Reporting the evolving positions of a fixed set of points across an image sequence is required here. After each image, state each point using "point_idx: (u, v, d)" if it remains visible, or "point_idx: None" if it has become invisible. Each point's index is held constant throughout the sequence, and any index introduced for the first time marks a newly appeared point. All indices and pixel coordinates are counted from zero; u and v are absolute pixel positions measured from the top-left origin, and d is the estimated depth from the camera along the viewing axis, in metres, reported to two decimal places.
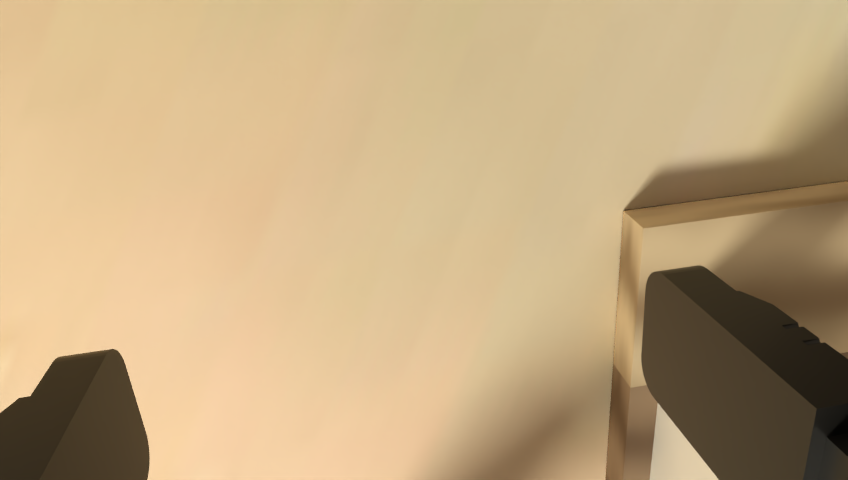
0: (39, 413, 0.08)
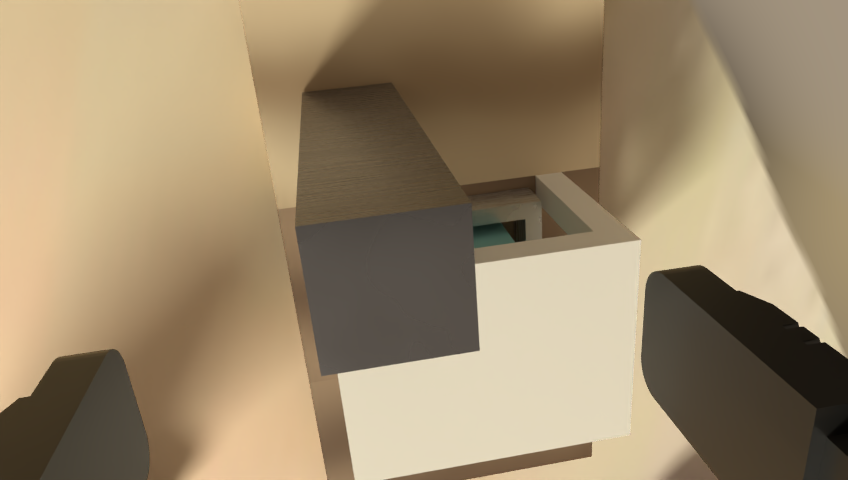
0: (39, 413, 0.08)
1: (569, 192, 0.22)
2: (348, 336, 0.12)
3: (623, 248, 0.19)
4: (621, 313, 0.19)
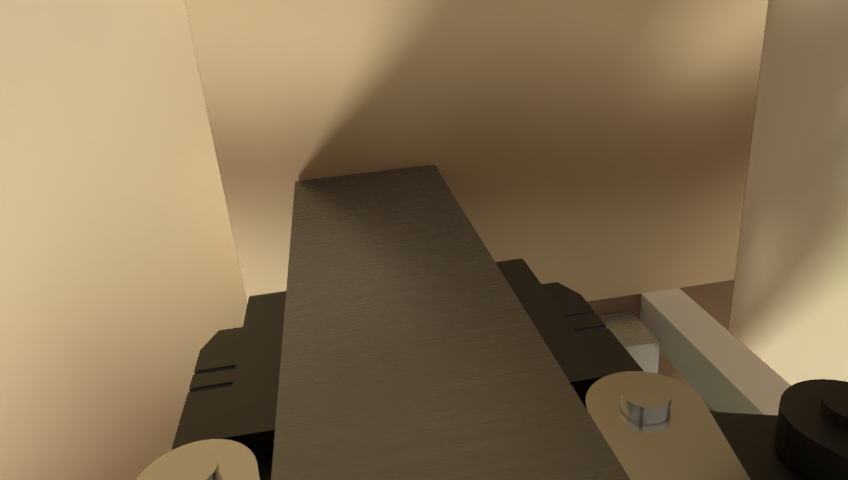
0: (259, 335, 0.09)
1: (708, 335, 0.14)
2: None
3: None
4: None
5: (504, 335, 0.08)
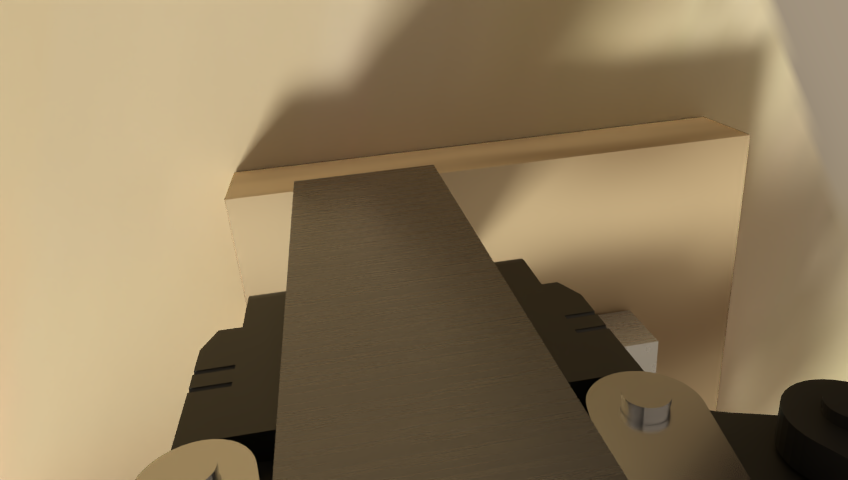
0: (259, 336, 0.09)
1: None
2: None
3: None
4: None
5: (504, 337, 0.08)
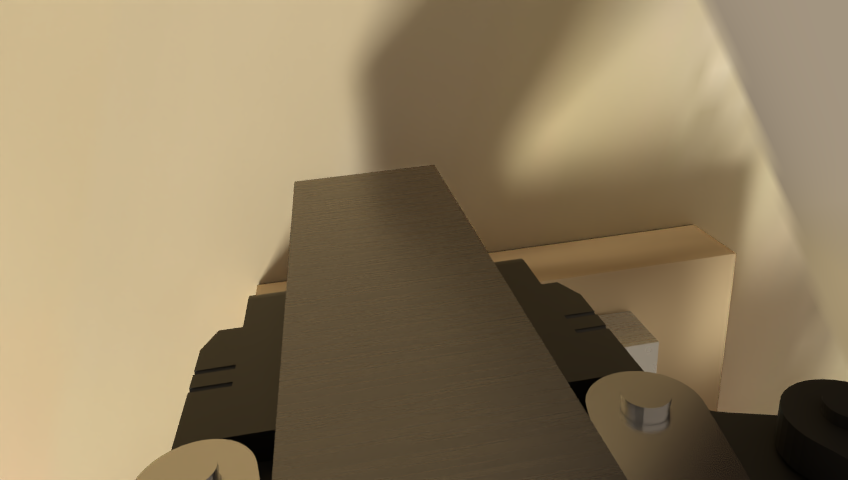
0: (259, 336, 0.09)
1: None
2: None
3: None
4: None
5: (504, 337, 0.08)
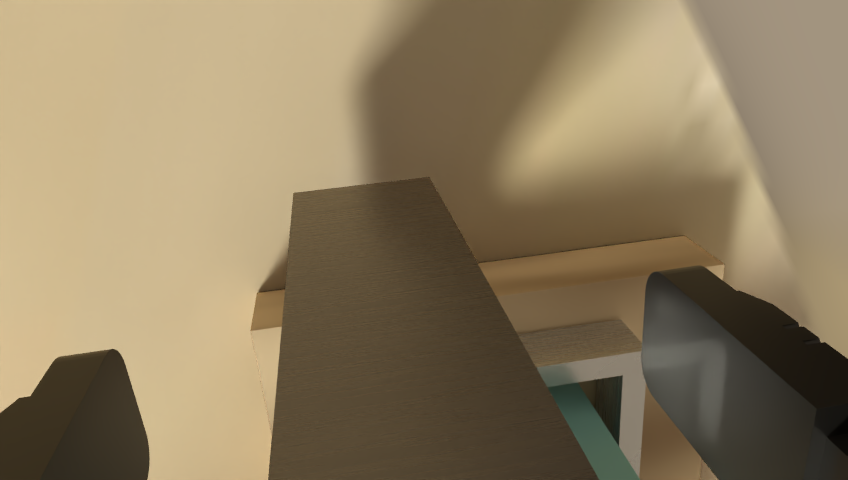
0: (39, 413, 0.08)
1: None
2: None
3: None
4: None
5: (490, 347, 0.08)
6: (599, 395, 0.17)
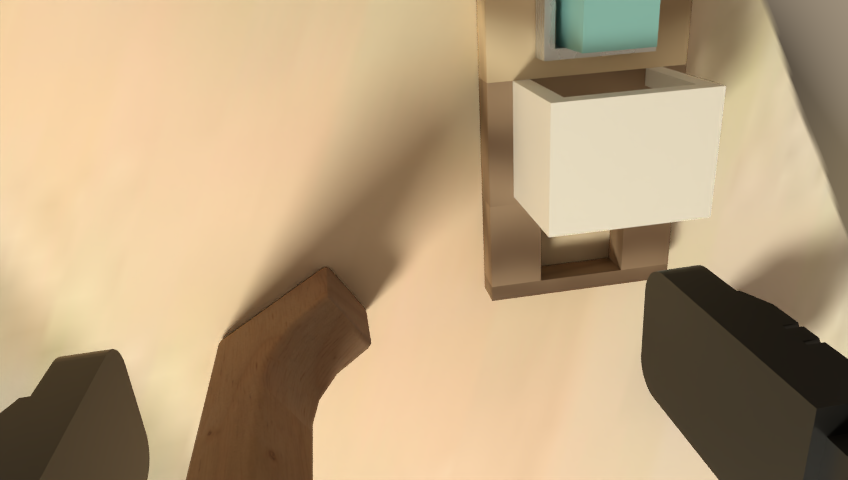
0: (39, 413, 0.08)
1: (673, 73, 0.36)
2: None
3: (715, 90, 0.32)
4: (711, 132, 0.33)
5: None
6: None
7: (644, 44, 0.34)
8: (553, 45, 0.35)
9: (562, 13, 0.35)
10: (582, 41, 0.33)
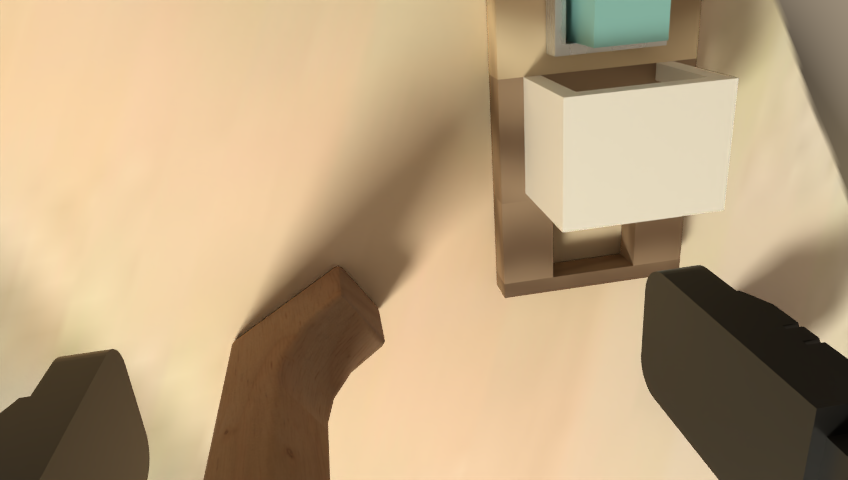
0: (39, 413, 0.08)
1: (684, 67, 0.36)
2: None
3: (728, 83, 0.32)
4: (724, 125, 0.33)
5: None
6: None
7: (655, 38, 0.34)
8: (564, 40, 0.35)
9: (572, 8, 0.35)
10: (593, 35, 0.33)
